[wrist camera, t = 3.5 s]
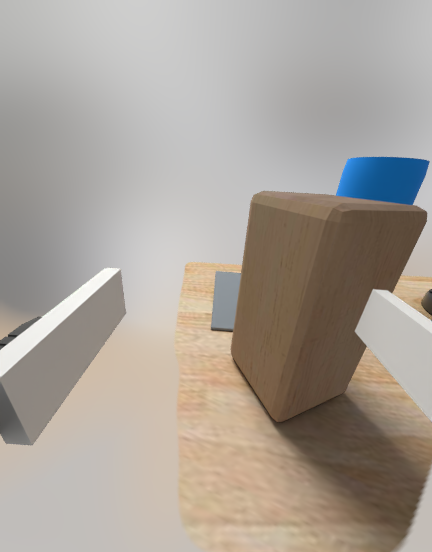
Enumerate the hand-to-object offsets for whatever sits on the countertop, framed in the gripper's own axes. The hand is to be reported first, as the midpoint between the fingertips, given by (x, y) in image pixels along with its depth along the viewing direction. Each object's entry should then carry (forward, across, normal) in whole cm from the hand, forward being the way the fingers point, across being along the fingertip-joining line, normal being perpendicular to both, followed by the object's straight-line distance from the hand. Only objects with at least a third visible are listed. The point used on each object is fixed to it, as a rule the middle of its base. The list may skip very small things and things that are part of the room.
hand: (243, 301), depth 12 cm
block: (+9, +7, -15) cm, 19 cm away
